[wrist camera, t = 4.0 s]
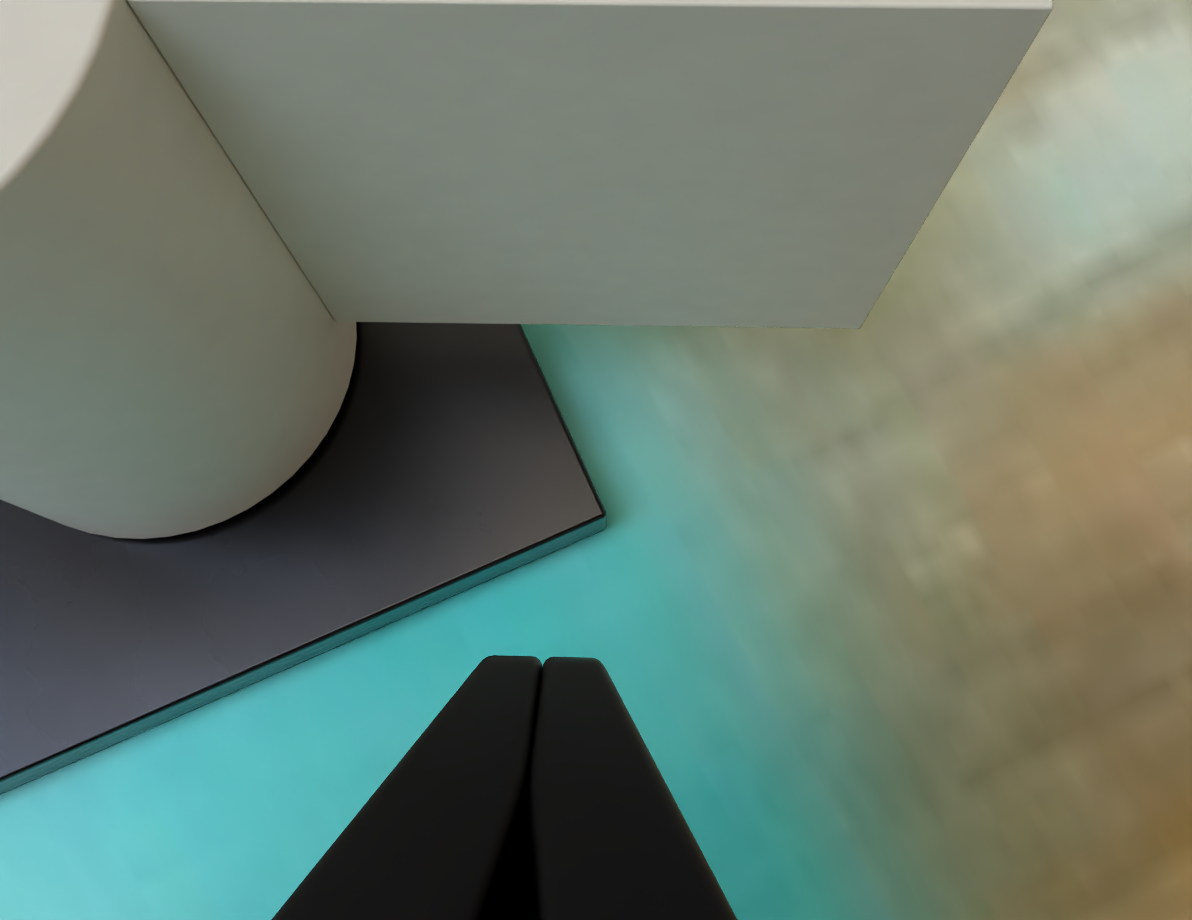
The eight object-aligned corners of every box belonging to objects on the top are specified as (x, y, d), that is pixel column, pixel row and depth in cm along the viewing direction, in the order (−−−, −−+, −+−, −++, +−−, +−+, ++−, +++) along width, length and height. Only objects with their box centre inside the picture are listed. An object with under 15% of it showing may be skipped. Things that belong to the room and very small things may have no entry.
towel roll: (845, 359, 19) (1079, -21, 10) (56, 700, 18) (-577, 651, 8) (639, -28, 21) (665, -660, 12) (-83, 253, 20) (-720, -198, 10)
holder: (608, 528, 20) (607, 515, 19) (-30, 808, 19) (-71, 812, 18) (372, 8, 23) (359, -31, 22) (-196, 225, 22) (-241, 196, 21)
